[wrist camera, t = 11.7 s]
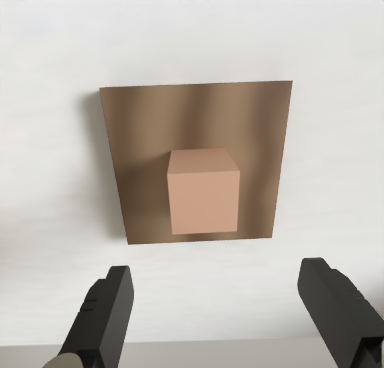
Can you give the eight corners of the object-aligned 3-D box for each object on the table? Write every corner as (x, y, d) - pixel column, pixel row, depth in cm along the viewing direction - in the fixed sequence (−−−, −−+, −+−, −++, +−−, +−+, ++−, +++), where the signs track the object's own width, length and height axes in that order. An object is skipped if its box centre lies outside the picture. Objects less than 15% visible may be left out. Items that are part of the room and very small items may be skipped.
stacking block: (225, 148, 21) (239, 170, 16) (224, 196, 23) (236, 231, 18) (171, 150, 21) (167, 174, 16) (175, 198, 23) (172, 234, 18)
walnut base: (280, 80, 21) (292, 80, 19) (264, 225, 28) (271, 237, 25) (108, 87, 21) (99, 87, 19) (132, 231, 27) (128, 244, 25)
